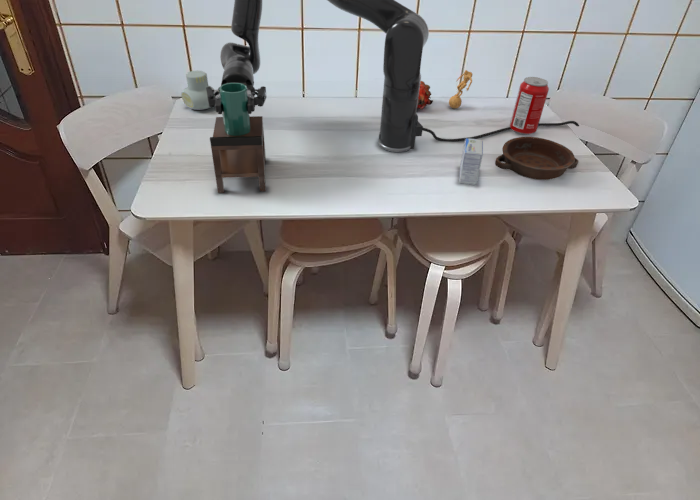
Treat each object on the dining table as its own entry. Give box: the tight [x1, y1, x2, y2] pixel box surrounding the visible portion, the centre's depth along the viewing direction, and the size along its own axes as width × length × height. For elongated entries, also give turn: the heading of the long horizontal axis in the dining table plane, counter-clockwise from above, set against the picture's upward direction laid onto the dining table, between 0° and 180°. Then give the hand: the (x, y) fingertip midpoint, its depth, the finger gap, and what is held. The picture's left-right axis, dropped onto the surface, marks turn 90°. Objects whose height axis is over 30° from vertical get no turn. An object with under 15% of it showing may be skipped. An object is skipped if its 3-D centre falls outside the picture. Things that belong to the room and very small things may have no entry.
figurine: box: [448, 69, 473, 110], centre depth 156 cm, size 8×6×12 cm
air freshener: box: [181, 70, 214, 111], centre depth 150 cm, size 11×8×10 cm
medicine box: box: [458, 137, 484, 186], centre depth 124 cm, size 8×4×9 cm, turn 168°
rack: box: [209, 115, 267, 194], centre depth 118 cm, size 11×15×14 cm
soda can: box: [509, 76, 550, 136], centre depth 144 cm, size 8×8×15 cm
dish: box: [494, 136, 579, 181], centre depth 130 cm, size 18×22×5 cm
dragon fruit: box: [417, 80, 434, 110], centre depth 157 cm, size 8×8×12 cm
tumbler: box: [219, 83, 251, 136], centre depth 112 cm, size 6×6×10 cm
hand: (234, 109), depth 110 cm, fingers closed on tumbler, 5 cm apart
